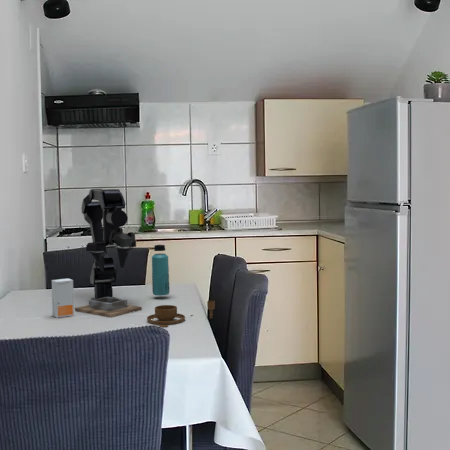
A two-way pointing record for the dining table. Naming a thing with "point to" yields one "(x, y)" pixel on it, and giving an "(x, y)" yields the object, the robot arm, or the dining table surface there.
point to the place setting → (172, 314)
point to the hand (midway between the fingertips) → (112, 269)
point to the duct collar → (108, 307)
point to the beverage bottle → (160, 272)
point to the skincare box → (62, 298)
